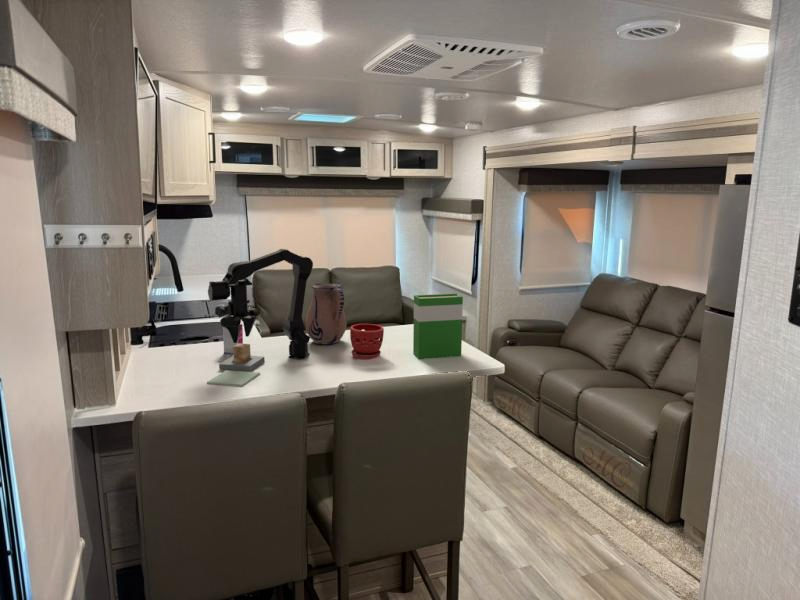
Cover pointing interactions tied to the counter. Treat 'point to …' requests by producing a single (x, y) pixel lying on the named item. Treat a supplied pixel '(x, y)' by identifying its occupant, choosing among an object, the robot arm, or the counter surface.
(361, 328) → the plant pot
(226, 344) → the supplement box
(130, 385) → the counter surface
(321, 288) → the ceramic pitcher
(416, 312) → the hardback book
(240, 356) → the oak block
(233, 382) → the rubber mat
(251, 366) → the charcoal holder
